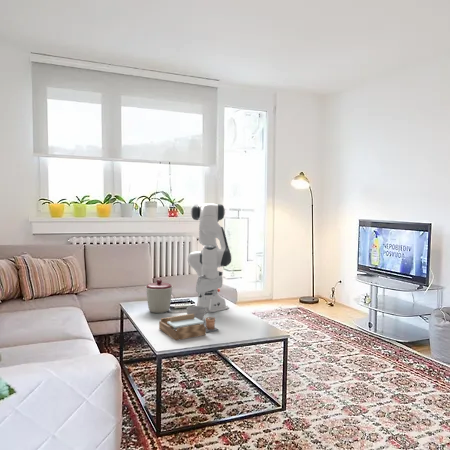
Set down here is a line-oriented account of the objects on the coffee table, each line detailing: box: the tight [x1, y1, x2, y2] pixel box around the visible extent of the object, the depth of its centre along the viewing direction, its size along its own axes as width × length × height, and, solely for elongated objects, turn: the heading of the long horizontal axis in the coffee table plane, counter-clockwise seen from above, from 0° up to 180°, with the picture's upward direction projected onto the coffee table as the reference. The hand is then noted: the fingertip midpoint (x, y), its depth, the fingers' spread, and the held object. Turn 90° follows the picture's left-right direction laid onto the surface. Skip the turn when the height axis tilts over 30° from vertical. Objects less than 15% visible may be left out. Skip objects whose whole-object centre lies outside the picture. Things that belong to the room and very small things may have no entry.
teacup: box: [186, 305, 209, 321], centre depth 270 cm, size 14×11×8 cm
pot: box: [205, 316, 216, 329], centre depth 252 cm, size 6×6×6 cm
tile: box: [206, 327, 219, 334], centre depth 251 cm, size 8×8×1 cm
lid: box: [167, 313, 205, 329], centre depth 242 cm, size 18×10×3 cm, turn 121°
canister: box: [144, 278, 174, 314], centre depth 289 cm, size 18×18×21 cm
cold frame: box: [158, 316, 206, 341], centre depth 246 cm, size 18×22×6 cm
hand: (209, 298), depth 250 cm, fingers open, 8 cm apart
